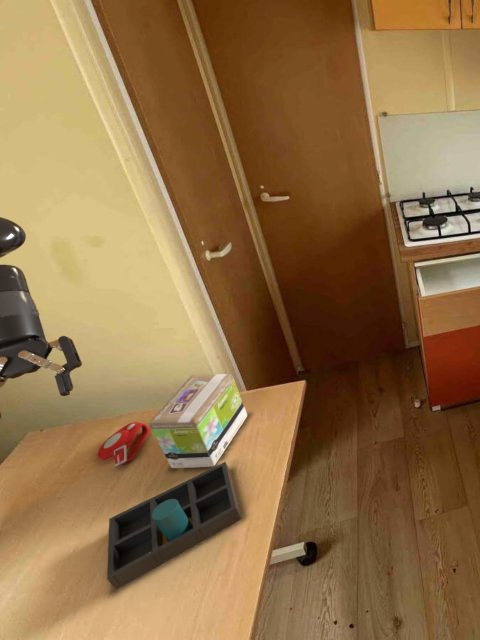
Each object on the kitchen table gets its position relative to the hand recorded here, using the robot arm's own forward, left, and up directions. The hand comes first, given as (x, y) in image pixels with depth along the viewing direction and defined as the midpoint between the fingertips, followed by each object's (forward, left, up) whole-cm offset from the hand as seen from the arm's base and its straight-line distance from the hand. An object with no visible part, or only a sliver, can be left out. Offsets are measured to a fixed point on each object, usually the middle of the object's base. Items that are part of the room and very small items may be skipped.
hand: (31, 406), depth 72 cm
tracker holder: (+2, +17, -31) cm, 35 cm away
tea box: (+19, +7, -31) cm, 37 cm away
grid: (+11, -12, -31) cm, 35 cm away
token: (+11, -15, -30) cm, 35 cm away
